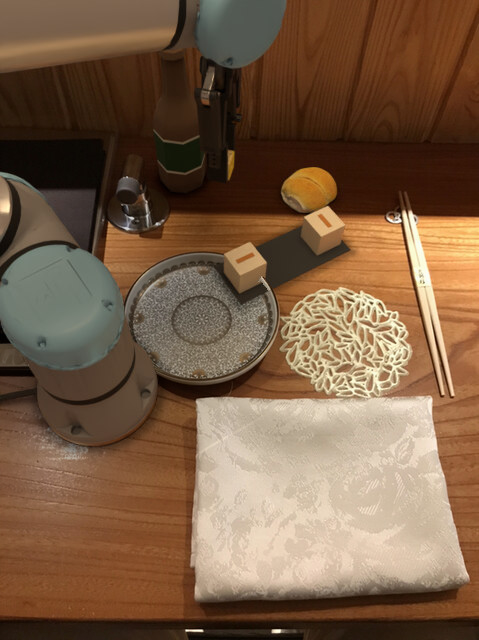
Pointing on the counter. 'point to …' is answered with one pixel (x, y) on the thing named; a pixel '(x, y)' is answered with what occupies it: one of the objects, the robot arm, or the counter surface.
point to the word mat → (284, 262)
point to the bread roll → (309, 190)
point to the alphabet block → (230, 162)
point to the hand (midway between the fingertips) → (221, 170)
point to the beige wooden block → (322, 230)
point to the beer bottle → (177, 127)
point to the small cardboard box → (244, 267)
